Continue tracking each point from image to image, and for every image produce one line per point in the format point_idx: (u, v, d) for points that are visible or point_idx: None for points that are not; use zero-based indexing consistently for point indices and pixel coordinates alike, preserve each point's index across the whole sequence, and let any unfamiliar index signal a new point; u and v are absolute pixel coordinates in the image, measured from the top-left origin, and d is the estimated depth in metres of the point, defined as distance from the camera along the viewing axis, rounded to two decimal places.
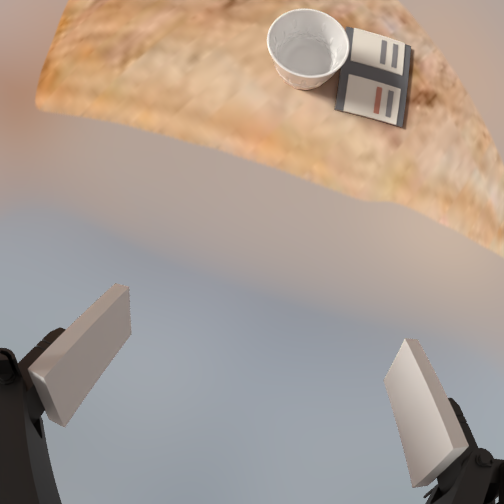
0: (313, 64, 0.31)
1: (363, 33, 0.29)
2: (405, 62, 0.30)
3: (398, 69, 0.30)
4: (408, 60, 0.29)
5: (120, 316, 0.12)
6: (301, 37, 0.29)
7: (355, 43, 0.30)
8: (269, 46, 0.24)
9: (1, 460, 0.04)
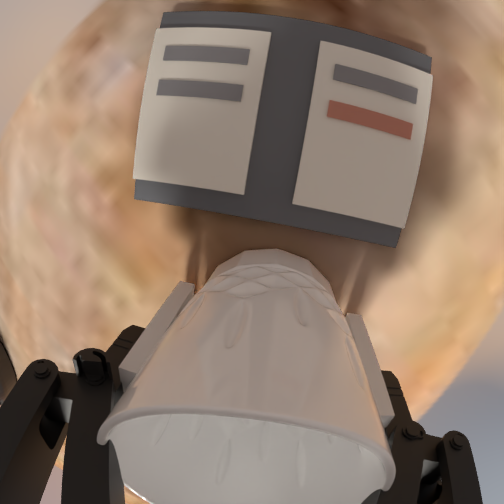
0: None
1: (145, 151, 0.12)
2: (220, 22, 0.10)
3: (252, 43, 0.10)
4: (213, 14, 0.10)
5: None
6: None
7: (183, 176, 0.12)
8: None
9: (74, 462, 0.05)
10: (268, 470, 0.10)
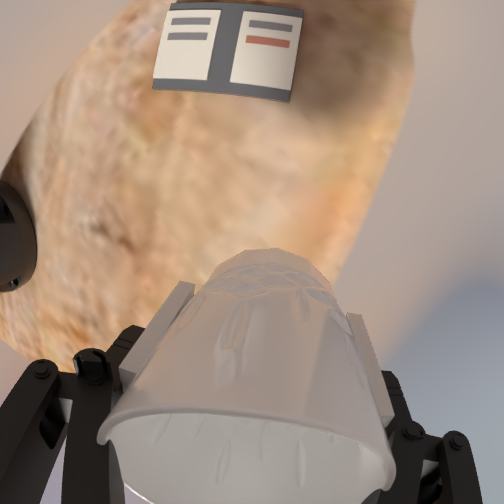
0: None
1: (160, 64, 0.22)
2: (198, 7, 0.20)
3: (212, 15, 0.20)
4: (194, 4, 0.20)
5: None
6: None
7: (178, 74, 0.22)
8: None
9: (74, 462, 0.05)
10: (268, 470, 0.10)
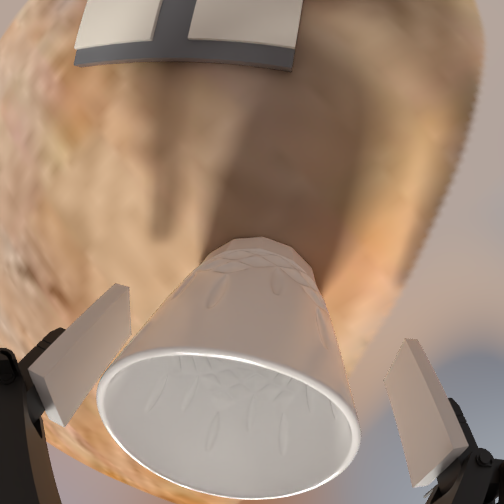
0: None
1: (85, 27, 0.11)
2: None
3: None
4: None
5: (120, 316, 0.12)
6: None
7: (108, 37, 0.12)
8: (245, 497, 0.09)
9: (1, 460, 0.04)
10: (253, 440, 0.11)
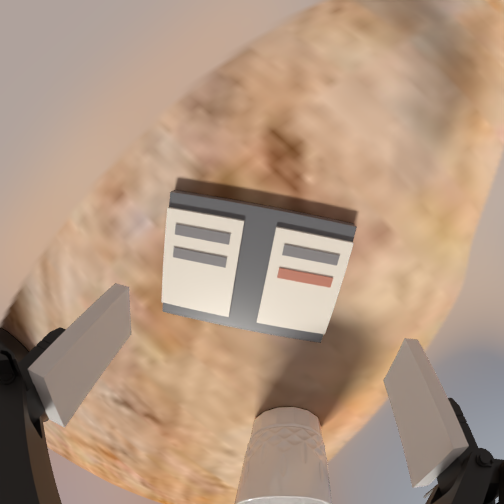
0: None
1: (169, 288, 0.21)
2: (211, 207, 0.19)
3: (231, 229, 0.19)
4: (205, 200, 0.19)
5: (120, 316, 0.12)
6: None
7: (193, 304, 0.21)
8: None
9: (1, 460, 0.04)
10: (288, 499, 0.21)
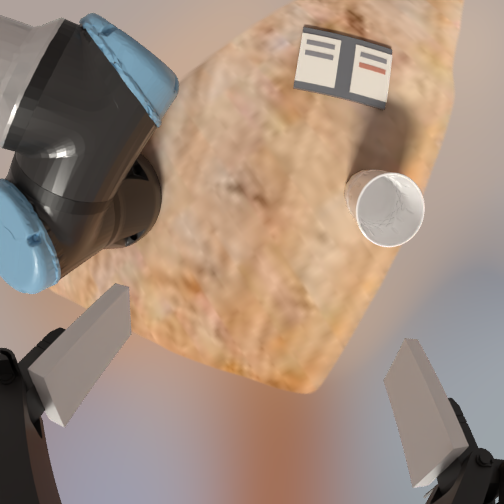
0: (373, 188, 0.36)
1: (300, 71, 0.33)
2: (324, 34, 0.31)
3: (335, 43, 0.31)
4: (321, 31, 0.30)
5: (120, 316, 0.12)
6: None
7: (313, 80, 0.33)
8: (392, 245, 0.30)
9: (1, 460, 0.04)
10: (385, 234, 0.32)
